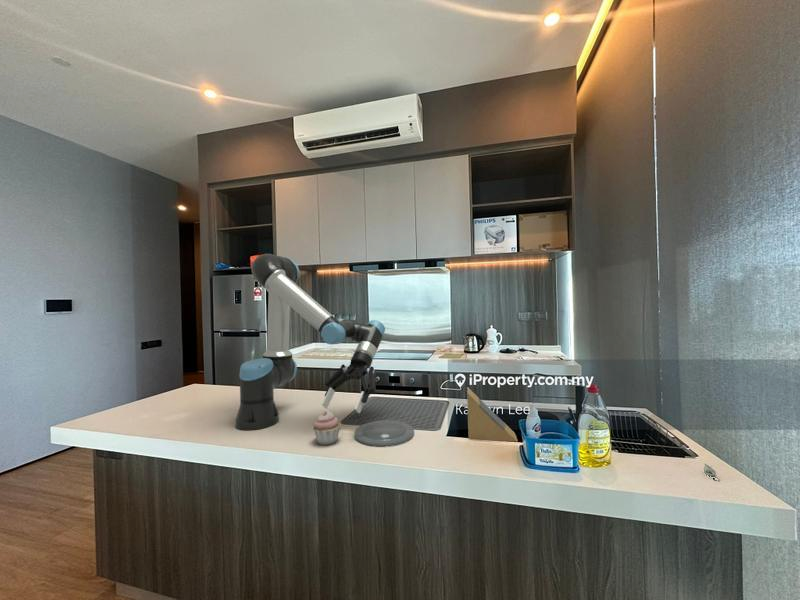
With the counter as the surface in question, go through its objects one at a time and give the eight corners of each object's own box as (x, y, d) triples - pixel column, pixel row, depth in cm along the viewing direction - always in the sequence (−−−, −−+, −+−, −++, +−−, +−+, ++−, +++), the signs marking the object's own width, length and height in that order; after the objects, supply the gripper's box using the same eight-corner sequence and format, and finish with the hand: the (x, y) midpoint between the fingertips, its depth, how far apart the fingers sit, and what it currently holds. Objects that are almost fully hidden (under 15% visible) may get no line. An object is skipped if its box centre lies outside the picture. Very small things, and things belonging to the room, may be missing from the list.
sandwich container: (518, 442, 105) (517, 394, 105) (468, 440, 108) (467, 393, 108) (514, 432, 114) (513, 387, 114) (468, 430, 116) (466, 386, 117)
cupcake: (308, 440, 110) (307, 409, 110) (335, 433, 115) (334, 404, 116) (318, 450, 103) (317, 417, 103) (346, 442, 108) (345, 411, 108)
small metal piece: (694, 471, 86) (693, 459, 86) (705, 472, 85) (704, 460, 85) (707, 482, 80) (707, 470, 80) (719, 484, 80) (719, 471, 80)
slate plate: (342, 435, 113) (342, 431, 113) (384, 419, 128) (384, 416, 128) (383, 452, 100) (383, 448, 100) (426, 432, 114) (426, 428, 114)
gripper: (396, 364, 123) (376, 418, 110) (341, 360, 134) (317, 409, 121) (389, 351, 118) (367, 407, 105) (332, 349, 130) (306, 399, 116)
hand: (340, 408), depth 113 cm, fingers open, 13 cm apart
